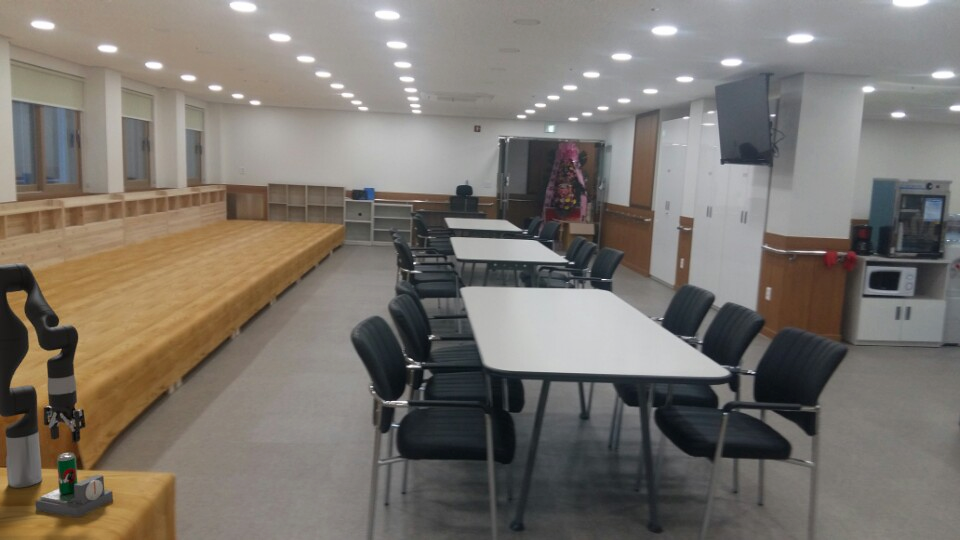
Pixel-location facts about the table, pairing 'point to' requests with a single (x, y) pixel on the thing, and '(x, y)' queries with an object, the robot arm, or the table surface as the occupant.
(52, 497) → the scale platform
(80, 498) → the scale base
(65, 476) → the soda can
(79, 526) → the table surface
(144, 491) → the table surface
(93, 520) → the table surface
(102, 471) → the table surface
